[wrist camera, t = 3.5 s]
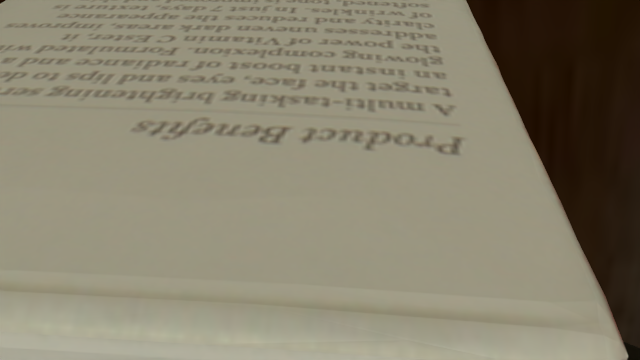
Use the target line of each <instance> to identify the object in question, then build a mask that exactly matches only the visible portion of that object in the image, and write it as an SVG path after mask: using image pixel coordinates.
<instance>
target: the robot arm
mask: <svg viewBox="0 0 640 360" xmlns="http://www.w3.org/2000/svg"><path fill="white" fill-rule="evenodd" d="M623 344H624V346H625V349H626V351H627V354H628V358H627V360H640V348H638V347H635V346H633V345H630V344H628V343H625V342H623Z"/></svg>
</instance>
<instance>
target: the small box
mask: <svg viewBox="0 0 640 360" xmlns="http://www.w3.org/2000/svg"><path fill="white" fill-rule="evenodd" d="M627 358H628V354H627V351H626V349H625V346H624V344H623V341H622V338H621V336H620V333H619V331H618V328H617V326H616V323H615V321H614V318H613V315H612V313H611V310H610V308H609V305H608V303H607V300H606V298H605V295H604V293H603V291H602V289H601V287H600V285H599V283H598V281H597V279H596V277H595V275H594V273H593V271H592V269H591V267H590V265H589V263H588V261H587V259H586V257H585V255H584V253H583V251H582V249H581V247H580V245H579V243H578V241H577V239H576V236H575V234H574V232H573V229H572V227H571V225H570V222H569V220H568V218H567V216H566V213H565V211H564V209H563V206H562V204H561V202H560V200H559V198H558V196H557V193H556V191H555V189H554V187H553V185H552V183H551V181H550V179H549V177H548V174H547V172H546V170H545V168H544V166H543V164H542V162H541V160H540V157H539V155H538V153H537V151H536V149H535V148H534V146H533V144H532V142H531V140H530V138H529V135H528V133H527V131H526V129H525V126H524V124H523V122H522V120H521V117H520V115H519V113H518V111H517V108H516V106H515V104H514V102H513V100H512V98H511V96H510V93H509V91H508V89H507V87H506V85H505V83H504V81H503V79H502V77H501V74H500V71H499V68H498V66H497V64H496V62H495V60H494V58H493V56H492V54H491V52H490V51H489V49H488V47H487V44H486V42H485V40H484V38H483V35H482V33H481V31H480V29H479V27H478V25H477V23H476V21H475V19H474V17H473V15H472V13H471V11H470V8H469V6H468V4H467V2H466V0H6V1H4V2H3V3H1V4H0V360H627Z"/></svg>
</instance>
